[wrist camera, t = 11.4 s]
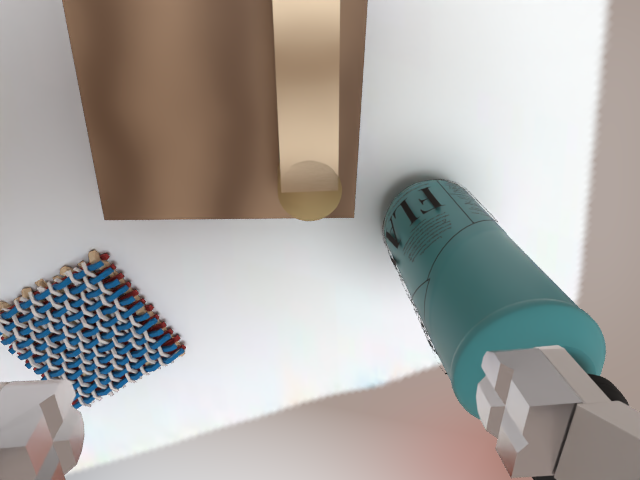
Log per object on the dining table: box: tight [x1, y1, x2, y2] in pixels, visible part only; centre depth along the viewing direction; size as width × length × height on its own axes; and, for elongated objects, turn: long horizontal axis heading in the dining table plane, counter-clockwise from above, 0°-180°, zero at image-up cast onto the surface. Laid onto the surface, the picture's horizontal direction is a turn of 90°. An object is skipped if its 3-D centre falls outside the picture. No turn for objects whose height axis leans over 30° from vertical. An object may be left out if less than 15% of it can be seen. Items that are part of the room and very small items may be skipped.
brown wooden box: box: [62, 0, 368, 220], centre depth 25 cm, size 15×16×6 cm
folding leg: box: [272, 0, 342, 221], centre depth 24 cm, size 14×3×3 cm, turn 1°
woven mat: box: [0, 250, 186, 409], centre depth 35 cm, size 10×11×2 cm
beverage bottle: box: [383, 180, 629, 480], centre depth 24 cm, size 6×7×20 cm
